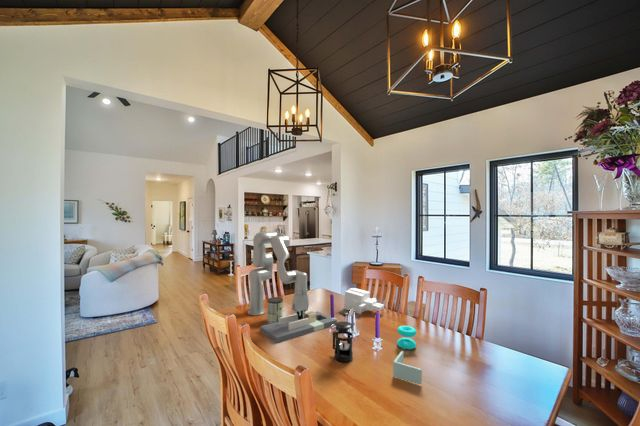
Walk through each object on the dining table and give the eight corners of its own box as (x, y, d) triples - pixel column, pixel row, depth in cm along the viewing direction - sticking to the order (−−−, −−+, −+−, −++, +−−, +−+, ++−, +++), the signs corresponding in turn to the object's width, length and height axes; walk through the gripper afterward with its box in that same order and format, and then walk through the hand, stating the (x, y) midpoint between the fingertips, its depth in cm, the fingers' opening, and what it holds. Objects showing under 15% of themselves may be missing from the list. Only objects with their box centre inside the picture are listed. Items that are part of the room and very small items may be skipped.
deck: (260, 331, 173) (260, 319, 173) (317, 315, 201) (317, 305, 201) (276, 343, 158) (276, 330, 158) (336, 324, 186) (336, 313, 186)
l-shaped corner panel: (421, 387, 120) (421, 370, 120) (393, 378, 126) (393, 361, 126) (427, 374, 130) (427, 358, 130) (401, 366, 136) (401, 351, 136)
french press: (357, 358, 142) (358, 312, 142) (346, 366, 135) (347, 317, 135) (339, 350, 150) (339, 307, 150) (327, 357, 143) (328, 311, 143)
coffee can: (269, 317, 197) (269, 296, 197) (284, 318, 196) (284, 297, 196) (265, 322, 186) (265, 301, 186) (280, 323, 185) (280, 302, 185)
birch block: (303, 320, 184) (303, 312, 184) (310, 318, 188) (310, 310, 188) (308, 323, 179) (308, 315, 179) (316, 321, 183) (316, 313, 183)
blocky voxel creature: (374, 323, 194) (339, 311, 210) (387, 313, 215) (354, 303, 231) (375, 301, 194) (340, 291, 210) (389, 293, 214) (356, 285, 230)
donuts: (396, 324, 162) (415, 325, 160) (396, 341, 162) (414, 343, 160) (398, 331, 153) (417, 332, 151) (397, 349, 153) (417, 351, 151)
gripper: (306, 289, 188) (306, 316, 188) (287, 292, 178) (287, 322, 178) (313, 291, 182) (313, 320, 182) (294, 295, 172) (294, 325, 172)
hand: (300, 321), depth 180 cm, fingers closed
